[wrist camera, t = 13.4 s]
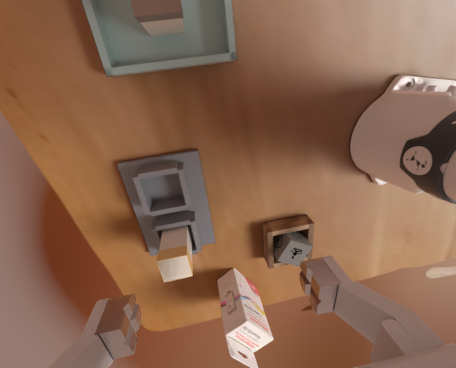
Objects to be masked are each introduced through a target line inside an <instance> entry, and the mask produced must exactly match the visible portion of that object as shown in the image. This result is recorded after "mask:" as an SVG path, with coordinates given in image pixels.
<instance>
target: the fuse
mask: <svg viewBox="0 0 456 368" xmlns="http://www.w3.org/2000/svg"><path fill="white" fill-rule="evenodd" d="M157 264H158V267H159V270H160V272H161V275H162V278H163V281H164V282H169V281H173V280H178V279H183V278H187V277H192V276H193V265H192V235H191V231H190V227H189V225H185V226H180V227H175V228H170V229H164V230H163V231H162V237H161V242H160V248H159V251H158V256H157Z"/></svg>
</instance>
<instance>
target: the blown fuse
mask: <svg viewBox="0 0 456 368" xmlns="http://www.w3.org/2000/svg"><path fill="white" fill-rule="evenodd" d="M130 1H131V5H132V9H133V13H134V17H135V18H136V19H137V21H138V22H139V23H141V24H142V26H143V27H144V28H145V29H146V30H147V32H148V33H149V34H150V35H151V37H154V36H163V35H172V34H181V33H184V25H183V10H182V4H181V0H130Z"/></svg>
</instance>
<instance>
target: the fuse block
mask: <svg viewBox="0 0 456 368" xmlns="http://www.w3.org/2000/svg"><path fill="white" fill-rule="evenodd" d="M117 166H118V169H119V171H120V174H121V177H122V179H123V182H124V185H125V187H126V190H127V193H128V195H129V198H130V201H131V203H132V206H133V209H134V212H135V214H136V217H137V220H138V222H139V225H140V228H141V230H142V233H143V236H144V238H145V241H146V244H147V247H148V249H149V252H150V255H151V256H153V255H158V251H159V248H160V242H161V237H162V231H163V230H164V229H170V228H175V227H180V226H185V225H189V227H190V231H191V235H192V255H193V254H198V252H199V251H202V245H206V244H211V243H216V242H215V237H214V231H213V226H212V221H211V215H210V210H209V205H208V200H207V194H206V189H205V184H204V178H203V173H202V168H201V163H200V157H199V152H198V149H196V150H190V151H184V152H177V153H171V154H165V155H159V156H153V157H147V158H141V159H135V160H129V161H123V162H119V163H118V164H117Z"/></svg>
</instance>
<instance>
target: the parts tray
mask: <svg viewBox="0 0 456 368" xmlns="http://www.w3.org/2000/svg"><path fill="white" fill-rule="evenodd" d="M82 3H83V6H84V9H85V12H86V15H87V18H88V21H89V24H90V27H91V30H92V33H93V36H94V39H95V42H96V45H97V48H98V51H99V54H100V57H101V61H102V64H103V67H104V70H105V73H106V76H110V77H118V76H126V75H134V74H142V73H149V72H157V71H165V70H173V69H180V68H188V67H196V66H204V65H211V64H219V63H227V62H233V61H235V60H237V55H236V44H235V33H234V22H233V11H232V0H181V4H182V10H183V25H184V33H181V34H172V35H163V36H154V37H151V35H150V34H149V33H148V32H147V30H146V29H145V28H144V27H143V26H142V24H141V23H139V22H138V21H137V19H136V18H135V17H134V13H133V9H132V5H131V1H130V0H82Z"/></svg>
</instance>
